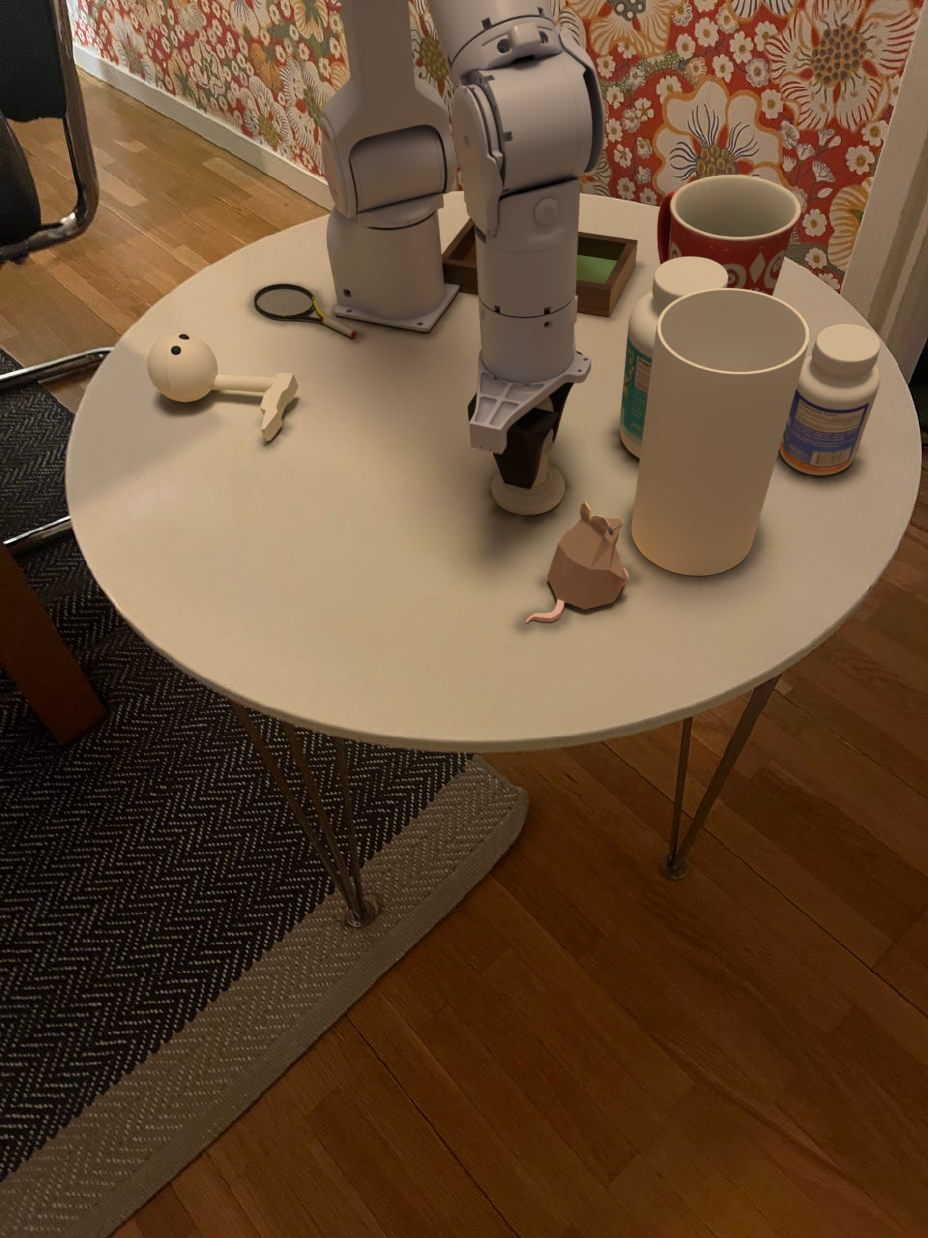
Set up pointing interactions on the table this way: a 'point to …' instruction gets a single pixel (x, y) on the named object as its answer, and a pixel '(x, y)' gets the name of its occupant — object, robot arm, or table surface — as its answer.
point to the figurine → (213, 378)
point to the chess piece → (544, 489)
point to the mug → (730, 227)
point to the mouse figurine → (586, 565)
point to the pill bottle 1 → (667, 287)
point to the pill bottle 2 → (832, 400)
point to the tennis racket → (301, 315)
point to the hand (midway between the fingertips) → (527, 465)
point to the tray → (597, 267)
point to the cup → (714, 425)
